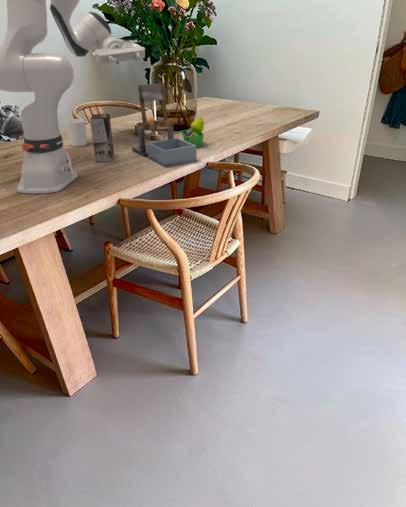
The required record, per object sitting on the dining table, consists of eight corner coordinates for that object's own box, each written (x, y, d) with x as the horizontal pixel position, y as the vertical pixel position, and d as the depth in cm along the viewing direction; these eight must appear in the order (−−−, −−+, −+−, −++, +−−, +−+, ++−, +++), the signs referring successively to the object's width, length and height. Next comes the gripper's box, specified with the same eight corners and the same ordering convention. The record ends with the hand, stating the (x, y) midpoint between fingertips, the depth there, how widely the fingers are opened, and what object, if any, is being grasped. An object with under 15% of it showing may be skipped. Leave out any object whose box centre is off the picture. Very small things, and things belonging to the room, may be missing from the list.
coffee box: (112, 161, 163) (107, 118, 155) (95, 162, 162) (89, 118, 154) (114, 154, 171) (110, 113, 163) (98, 155, 170) (93, 113, 162)
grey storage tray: (148, 158, 166) (147, 143, 163) (178, 152, 172) (177, 137, 169) (165, 167, 156) (164, 151, 153) (196, 161, 162) (196, 145, 160)
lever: (136, 130, 172) (129, 85, 165) (158, 126, 177) (153, 83, 170) (152, 132, 160) (146, 84, 154) (176, 128, 165) (171, 82, 159)
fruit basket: (181, 142, 187) (180, 115, 181) (200, 140, 189) (200, 114, 183) (186, 149, 177) (186, 121, 171) (207, 147, 179) (207, 120, 173)
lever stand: (132, 150, 175) (129, 124, 170) (164, 145, 182) (162, 119, 177) (144, 157, 167) (142, 129, 162) (177, 151, 174) (176, 124, 169)
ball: (154, 127, 170) (153, 116, 168) (144, 127, 170) (143, 117, 168) (155, 125, 174) (154, 115, 172) (145, 126, 174) (144, 116, 172)
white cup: (83, 147, 180) (79, 123, 175) (66, 146, 182) (62, 122, 177) (91, 142, 187) (88, 119, 182) (74, 141, 188) (71, 118, 184)
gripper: (88, 45, 169) (102, 55, 160) (135, 39, 178) (150, 49, 169) (90, 61, 173) (103, 72, 164) (136, 55, 182) (151, 65, 173)
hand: (128, 60), depth 167 cm, fingers open, 8 cm apart
